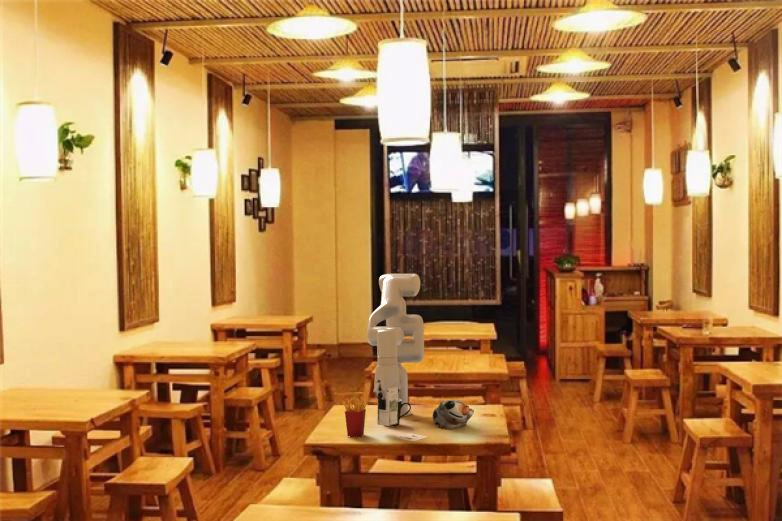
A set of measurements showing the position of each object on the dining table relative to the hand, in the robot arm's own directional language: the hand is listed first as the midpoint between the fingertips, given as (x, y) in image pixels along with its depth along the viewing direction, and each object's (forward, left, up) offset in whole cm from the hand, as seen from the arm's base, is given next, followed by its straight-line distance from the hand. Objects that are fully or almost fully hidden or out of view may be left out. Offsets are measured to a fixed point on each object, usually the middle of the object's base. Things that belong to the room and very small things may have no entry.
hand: (387, 407), depth 343 cm
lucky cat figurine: (+11, +27, -11) cm, 31 cm away
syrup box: (0, 0, -7) cm, 7 cm away
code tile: (+10, +2, -10) cm, 15 cm away
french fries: (-10, -8, -11) cm, 17 cm away
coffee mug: (-9, +15, -11) cm, 21 cm away
